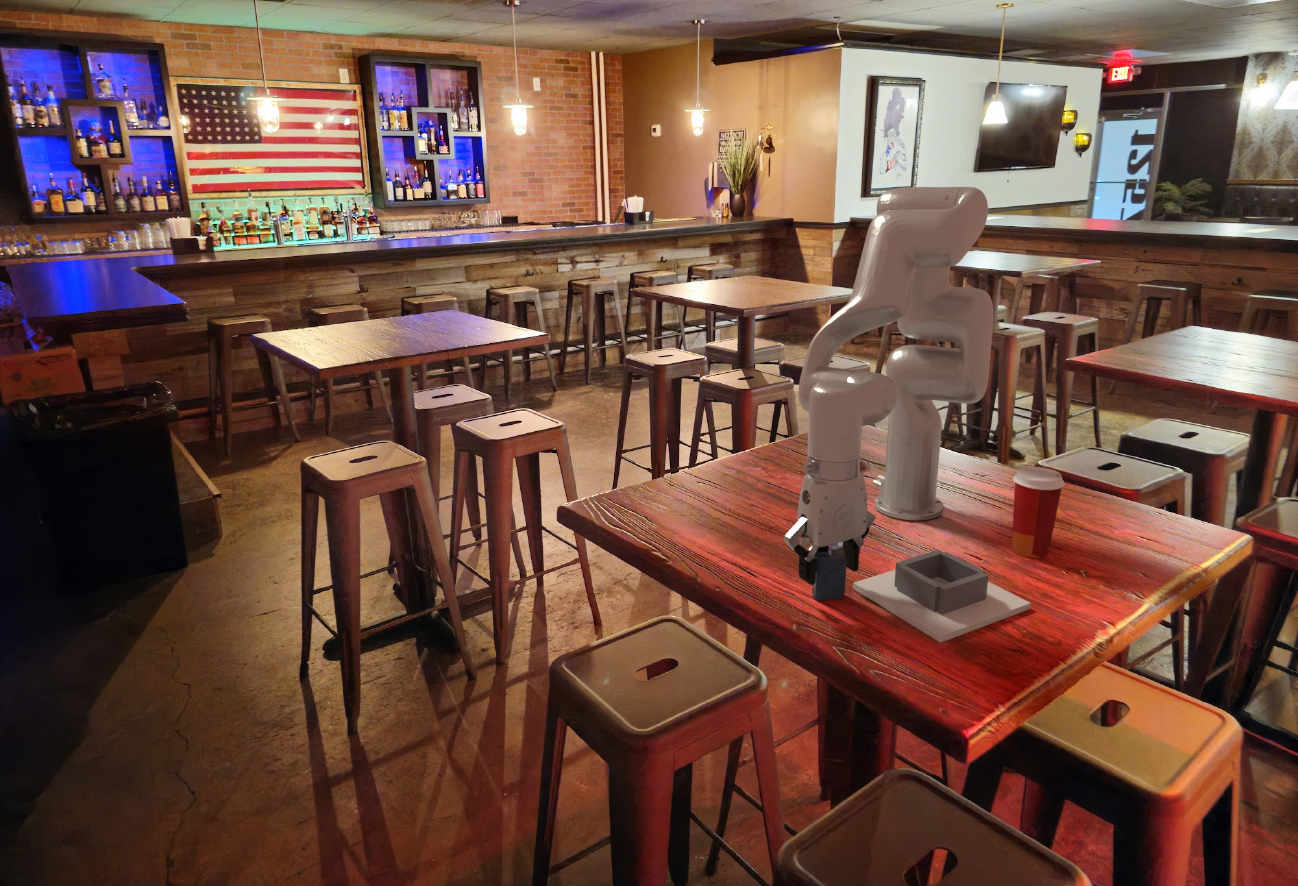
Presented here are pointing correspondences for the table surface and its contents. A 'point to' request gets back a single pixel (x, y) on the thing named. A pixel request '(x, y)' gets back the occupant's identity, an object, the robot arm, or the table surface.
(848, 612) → the table surface
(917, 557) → the dock
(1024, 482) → the paper cup
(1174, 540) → the table surface
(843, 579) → the vaping device
